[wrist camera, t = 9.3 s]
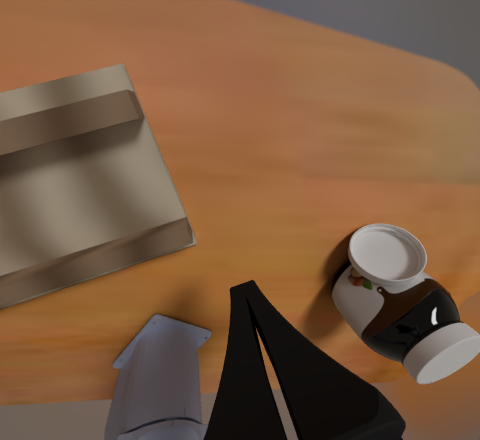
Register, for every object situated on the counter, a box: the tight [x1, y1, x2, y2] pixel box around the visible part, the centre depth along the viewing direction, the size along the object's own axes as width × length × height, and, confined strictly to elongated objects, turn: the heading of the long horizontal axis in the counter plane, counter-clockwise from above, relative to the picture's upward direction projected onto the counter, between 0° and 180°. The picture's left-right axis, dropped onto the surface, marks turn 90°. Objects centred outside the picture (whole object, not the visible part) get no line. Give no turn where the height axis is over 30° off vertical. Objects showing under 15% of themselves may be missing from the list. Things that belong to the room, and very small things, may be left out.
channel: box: [0, 64, 198, 309], centre depth 14 cm, size 22×14×5 cm, turn 103°
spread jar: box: [331, 224, 480, 384], centre depth 22 cm, size 12×11×12 cm
